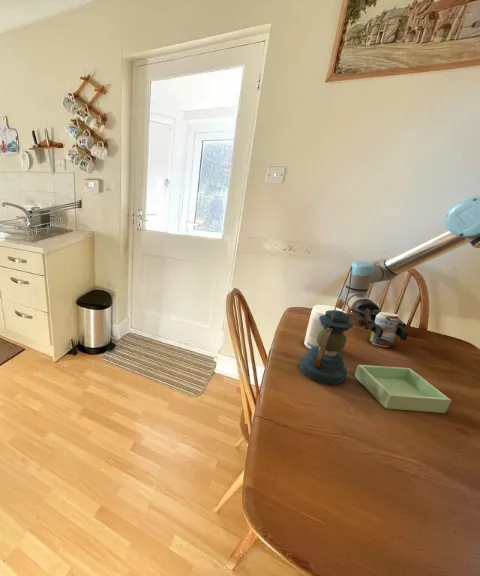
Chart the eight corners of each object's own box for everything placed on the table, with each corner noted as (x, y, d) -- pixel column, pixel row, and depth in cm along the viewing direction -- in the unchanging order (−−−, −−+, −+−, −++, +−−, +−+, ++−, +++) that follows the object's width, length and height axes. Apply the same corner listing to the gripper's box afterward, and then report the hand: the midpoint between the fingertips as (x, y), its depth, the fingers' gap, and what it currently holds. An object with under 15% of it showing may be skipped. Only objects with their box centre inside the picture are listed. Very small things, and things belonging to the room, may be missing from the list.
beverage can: (374, 348, 109) (385, 317, 104) (363, 338, 115) (373, 308, 111) (396, 350, 107) (408, 319, 103) (383, 339, 114) (394, 310, 110)
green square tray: (404, 380, 93) (409, 367, 91) (444, 414, 80) (451, 400, 79) (353, 377, 95) (358, 364, 93) (385, 409, 82) (390, 395, 81)
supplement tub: (342, 356, 105) (354, 317, 100) (312, 355, 106) (323, 316, 101) (325, 341, 114) (335, 304, 109) (298, 340, 115) (307, 304, 110)
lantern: (336, 394, 88) (373, 277, 75) (290, 374, 97) (317, 267, 84) (350, 373, 96) (386, 265, 84) (307, 357, 105) (334, 257, 92)
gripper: (389, 318, 123) (424, 349, 103) (333, 312, 129) (356, 340, 109) (395, 301, 120) (433, 329, 100) (337, 296, 126) (362, 321, 106)
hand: (393, 335), depth 104 cm, fingers closed on beverage can, 6 cm apart
